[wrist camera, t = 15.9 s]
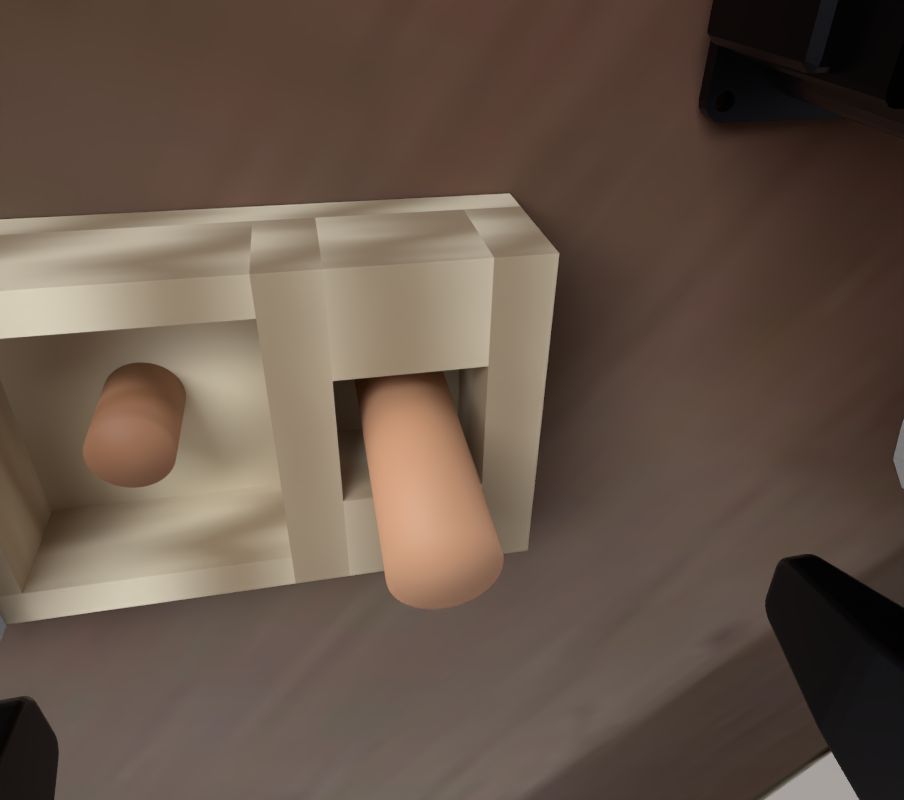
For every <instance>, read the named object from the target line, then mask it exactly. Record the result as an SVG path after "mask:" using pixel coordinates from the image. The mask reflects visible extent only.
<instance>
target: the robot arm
mask: <svg viewBox="0 0 904 800" xmlns="http://www.w3.org/2000/svg"><path fill="white" fill-rule="evenodd" d="M707 32H708V35H709V37H710V38H711V41H710V46H709V51H708V56H707V61H706V66H705V71H704V77H703V82H702V87H701V92H700V97H699V108H700V111H701V113H702V114H703V115H704V116H705V117H707V118H709V119H711V120H713V121H716V122H721V123H722V122H751V121H779V120H808V119H836V118H849V119H851V120H854V121H857V122H859V123H862V124H865V125H868V126H870V127H873V128H876V129H878V130H881V131H884V132H886V133H889V134H892V135H894V136H897V137H900V138H903V139H904V0H713V4H712V9H711V15H710V20H709V25H708V31H707ZM724 91H726V92H727V98H726V100H725V103H724V104H723V105H722V106H721V107H720V108H716V100H717V98H718V96H719V95H720V94H721V93H722V92H724ZM765 607H766V613H767V617H768V619H769V622H770V624H771V626H772V628H773V631H774V633H775V635H776V637H777V639H778V641H779V644H780V646H781V648H782V650H783V652H784V655H785V657H786V659H787V661H788V663H789V666H790V668H791V670H792V672H793V674H794V677H795V679H796V681H797V683H798V685H799V688H800V690H801V692H802V694H803V696H804V699H805V701H806V703H807V705H808V707H809V710H810V712H811V714H812V716H813V718H814V720H815V722H816V724H817V726H818V728H819V730H820V732H821V734H822V735H823V737H824V739H825V741H826V743H827V744H828V746H829V748H830V750H831V752H832V753H833V755H834V757H835V758H836V760H837V762H838V764H839V765H840V767H841V769H842V771H843V772H844V774H845V776H846V777H847V779H848V781H849V782H850V784H851V786H852V788H853V790H854V791H855V793H856V795H857V796H858V798H859V800H904V607H902V606H900V605H899V604H897V603H895V602H894V601H892V600H890V599H889V598H887V597H885V596H884V595H882V594H880V593H879V592H877V591H875V590H874V589H872V588H870V587H869V586H867V585H865V584H863V583H862V582H860V581H858V580H857V579H855V578H853V577H852V576H850V575H848V574H847V573H845V572H843V571H842V570H840V569H838V568H837V567H835V566H833V565H831V564H830V563H828V562H826V561H825V560H823V559H821V558H820V557H818V556H815V555H812V554H803V555H798V556H792V557H786V558H783V559H782V560H780V561H779V562H778V564H777V566H776V569H775V572H774V575H773V578H772V581H771V584H770V587H769V590H768V593H767V596H766V600H765ZM58 756H59V750H58V742H57V738H56V735H55V733H54V731H53V730H52V728H51V726H50V725H49V723H48V721H47V720H46V718H45V716H44V715H43V713H42V711H41V710H40V708H39V706H38V705H37V703H36V702H35V700H34V699H33V698H31V697H28V696H21V697H16V698H10V699H5V700H0V800H54V796H55V786H56V777H57V767H58Z"/></svg>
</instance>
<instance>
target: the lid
mask: <svg viewBox="0 0 904 800" xmlns="http://www.w3.org/2000/svg"><path fill="white" fill-rule="evenodd" d="M5 629H6V624H5V622H4V620H3V618H2V616H1V614H0V642H1V640H2V637H3V634H4V631H5Z"/></svg>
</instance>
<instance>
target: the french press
mask: <svg viewBox="0 0 904 800" xmlns="http://www.w3.org/2000/svg"><path fill="white" fill-rule="evenodd" d="M893 461H894V464H895V467H896V470H897V474H898V477H899V480H900V484H901V487H902V488H903V489H904V420H903V422H902V426H901V430H900V434H899V438H898V442H897V446H896V450H895V454H894V458H893Z"/></svg>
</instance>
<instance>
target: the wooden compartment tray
mask: <svg viewBox="0 0 904 800" xmlns="http://www.w3.org/2000/svg"><path fill="white" fill-rule="evenodd" d="M558 261H559V252H558V251H557V250H556V249H555V248H554V246H553V245H552V244H551V243H550V241H549V240H548V239H547V238H546V237H545V235H544V234H543V233H542V232H541V231H540V229H539V228H538V227H537V226H536V225H535V223H534V222H533V221H532V220H531V219H530V217H529V216H528V215H527V214H526V213H525V211H524V210H523V209H522V208H521V206H520V205H519V204H518V203H517V202H516V200H515V199H514V198H513V197H512V196H511V194H510V193H509V194H490V195H470V196H451V197H431V198H411V199H392V200H372V201H353V202H333V203H314V204H294V205H275V206H255V207H236V208H216V209H196V210H177V211H157V212H138V213H118V214H99V215H79V216H60V217H40V218H21V219H1V220H0V614H1V616H2V618H3V620H4V622H5V624H6V625H7V624H14V623H21V622H28V621H35V620H42V619H49V618H56V617H63V616H70V615H77V614H84V613H91V612H98V611H105V610H112V609H119V608H126V607H133V606H140V605H147V604H154V603H161V602H168V601H175V600H182V599H189V598H196V597H204V596H211V595H218V594H225V593H232V592H239V591H246V590H253V589H260V588H267V587H274V586H281V585H288V584H295V583H302V582H309V581H316V580H323V579H330V578H337V577H344V576H351V575H358V574H365V573H372V572H379V571H384V565H383V558H382V552H381V545H380V539H379V533H378V526H377V520H376V513H375V507H374V500H373V494H372V488H371V481H370V475H369V468H368V462H367V456H366V449H365V443H364V436H363V430H362V424H361V417H360V411H359V404H358V398H357V391H356V385H355V379H360V378H371V377H382V376H392V375H403V374H413V373H424V372H434V371H443V372H444V375H445V378H446V381H447V384H448V387H449V390H450V393H451V396H452V399H453V402H454V405H455V408H456V412H457V415H458V418H459V421H460V424H461V427H462V430H463V433H464V436H465V439H466V442H467V445H468V448H469V451H470V454H471V457H472V460H473V463H474V466H475V469H476V472H477V476H478V479H479V482H480V485H481V488H482V491H483V494H484V497H485V500H486V503H487V506H488V509H489V512H490V515H491V518H492V521H493V524H494V527H495V530H496V533H497V536H498V540H499V543H500V546H501V549H502V552H503V554H506V553H513V552H520V551H527V550H528V542H529V533H530V524H531V514H532V505H533V496H534V486H535V477H536V467H537V458H538V449H539V439H540V430H541V421H542V411H543V402H544V392H545V383H546V374H547V364H548V355H549V346H550V336H551V327H552V317H553V308H554V299H555V289H556V280H557V271H558Z"/></svg>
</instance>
